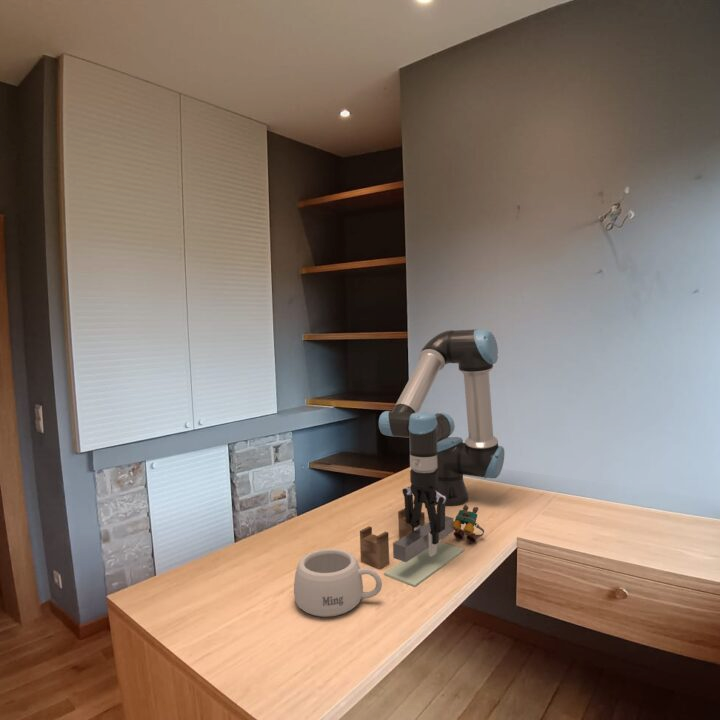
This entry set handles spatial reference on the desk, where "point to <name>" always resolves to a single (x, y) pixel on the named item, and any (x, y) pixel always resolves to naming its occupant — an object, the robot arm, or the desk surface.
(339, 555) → the mug
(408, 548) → the rail
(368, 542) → the rack
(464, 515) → the binoculars
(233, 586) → the desk surface
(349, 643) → the desk surface
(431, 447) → the robot arm
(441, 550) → the mat
